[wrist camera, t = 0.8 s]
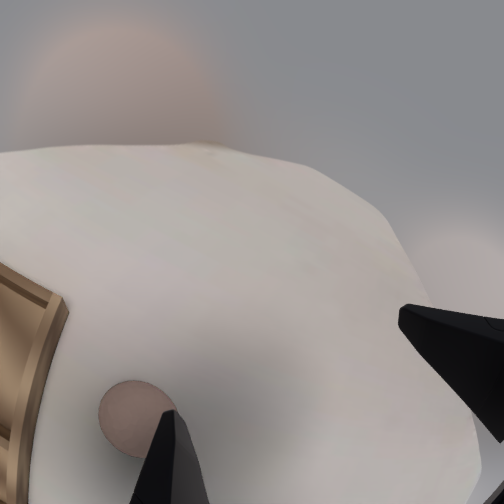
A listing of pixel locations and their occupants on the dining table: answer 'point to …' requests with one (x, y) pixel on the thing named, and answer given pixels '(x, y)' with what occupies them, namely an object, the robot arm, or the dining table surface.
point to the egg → (132, 416)
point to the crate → (23, 372)
